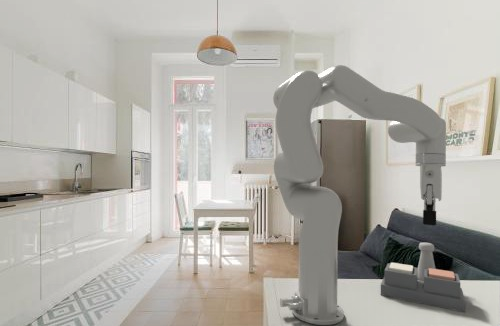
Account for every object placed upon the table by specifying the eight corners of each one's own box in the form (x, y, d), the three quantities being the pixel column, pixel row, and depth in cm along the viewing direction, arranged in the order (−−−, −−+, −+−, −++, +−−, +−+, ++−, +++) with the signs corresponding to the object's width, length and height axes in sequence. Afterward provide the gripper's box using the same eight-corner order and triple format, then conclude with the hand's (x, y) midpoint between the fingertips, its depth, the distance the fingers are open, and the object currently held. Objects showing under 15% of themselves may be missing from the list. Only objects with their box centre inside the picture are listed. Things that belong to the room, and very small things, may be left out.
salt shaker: (440, 288, 93) (440, 245, 93) (420, 286, 94) (420, 244, 95) (432, 281, 99) (432, 241, 99) (413, 279, 100) (413, 240, 100)
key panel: (380, 294, 87) (380, 270, 87) (384, 284, 96) (385, 261, 96) (465, 312, 77) (464, 284, 77) (461, 298, 85) (461, 273, 86)
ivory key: (389, 279, 88) (389, 267, 88) (391, 273, 93) (391, 262, 93) (412, 283, 85) (412, 271, 85) (413, 277, 90) (413, 265, 90)
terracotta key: (428, 286, 83) (428, 273, 83) (428, 280, 88) (428, 268, 88) (455, 291, 80) (455, 278, 80) (453, 284, 85) (453, 271, 85)
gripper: (446, 159, 79) (445, 229, 78) (445, 162, 92) (444, 223, 91) (413, 159, 83) (412, 226, 82) (417, 162, 96) (416, 220, 95)
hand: (429, 224), depth 87 cm, fingers closed
